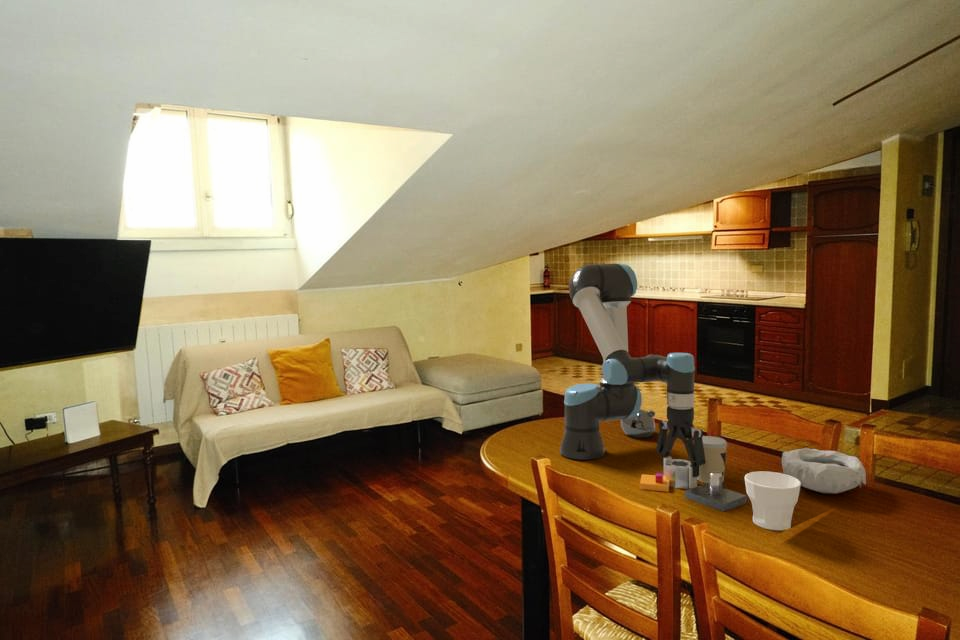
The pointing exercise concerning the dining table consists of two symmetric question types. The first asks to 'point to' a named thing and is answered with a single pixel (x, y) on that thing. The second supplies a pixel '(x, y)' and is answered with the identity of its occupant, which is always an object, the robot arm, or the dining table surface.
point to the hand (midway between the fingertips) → (679, 482)
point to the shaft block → (716, 494)
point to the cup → (772, 498)
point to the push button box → (654, 482)
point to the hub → (677, 473)
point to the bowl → (824, 470)
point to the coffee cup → (713, 458)
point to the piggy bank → (639, 424)
